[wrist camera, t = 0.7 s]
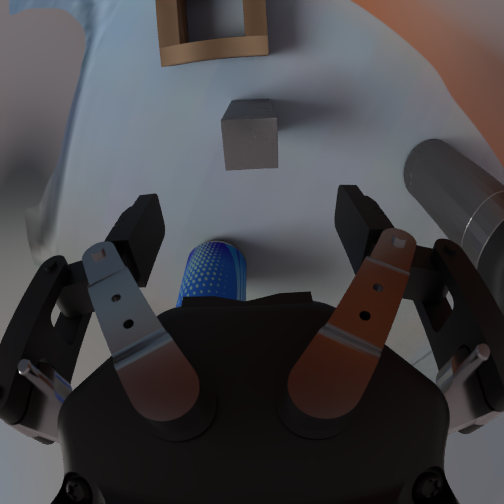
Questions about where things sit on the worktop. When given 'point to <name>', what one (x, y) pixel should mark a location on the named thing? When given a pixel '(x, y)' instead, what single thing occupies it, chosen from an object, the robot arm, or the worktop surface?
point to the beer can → (214, 272)
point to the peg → (250, 135)
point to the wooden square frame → (181, 51)
